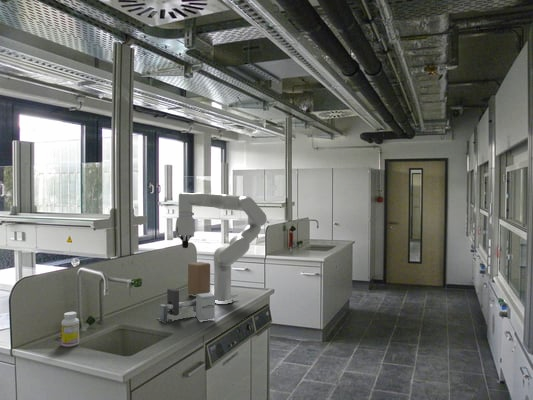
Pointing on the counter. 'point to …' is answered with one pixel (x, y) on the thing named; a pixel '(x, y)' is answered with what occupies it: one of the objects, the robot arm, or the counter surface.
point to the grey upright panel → (173, 301)
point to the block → (198, 278)
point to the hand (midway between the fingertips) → (185, 247)
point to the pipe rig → (170, 307)
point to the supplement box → (205, 306)
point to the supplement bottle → (70, 330)
